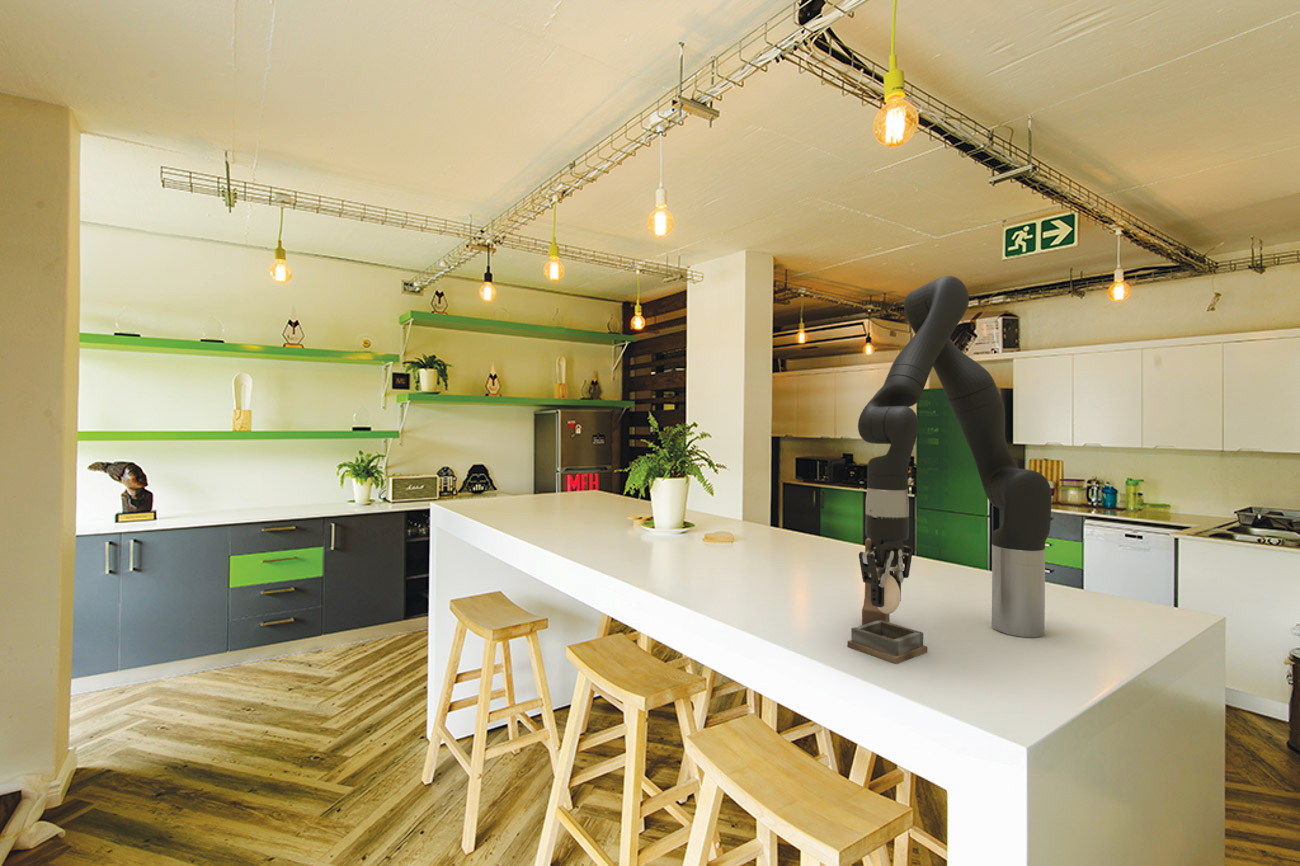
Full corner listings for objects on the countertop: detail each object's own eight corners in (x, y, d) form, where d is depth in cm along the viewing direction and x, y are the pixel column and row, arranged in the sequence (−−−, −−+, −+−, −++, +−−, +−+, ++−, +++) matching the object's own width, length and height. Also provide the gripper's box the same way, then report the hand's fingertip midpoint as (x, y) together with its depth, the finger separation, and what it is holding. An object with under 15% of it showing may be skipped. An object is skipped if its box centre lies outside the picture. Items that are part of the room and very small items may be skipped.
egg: (904, 613, 109) (904, 574, 109) (894, 619, 106) (894, 578, 106) (879, 608, 112) (880, 569, 112) (869, 613, 109) (869, 573, 109)
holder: (878, 636, 116) (878, 618, 116) (927, 651, 108) (927, 632, 108) (847, 646, 110) (847, 628, 110) (896, 663, 102) (896, 643, 102)
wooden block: (885, 634, 117) (885, 544, 117) (861, 630, 119) (862, 542, 119) (889, 621, 125) (889, 537, 125) (867, 618, 127) (867, 536, 127)
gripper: (891, 508, 116) (890, 593, 116) (845, 513, 108) (844, 605, 108) (927, 512, 110) (926, 602, 110) (882, 518, 102) (881, 615, 102)
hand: (885, 603), depth 109 cm, fingers closed on egg, 4 cm apart
